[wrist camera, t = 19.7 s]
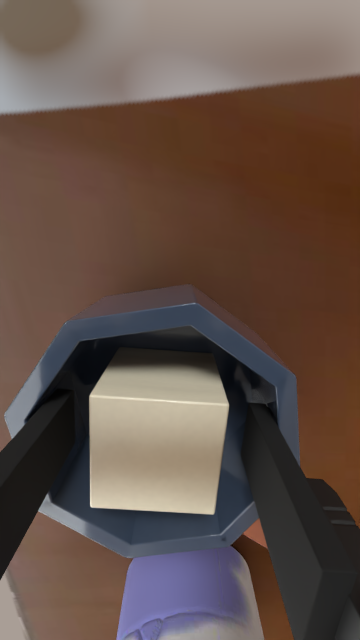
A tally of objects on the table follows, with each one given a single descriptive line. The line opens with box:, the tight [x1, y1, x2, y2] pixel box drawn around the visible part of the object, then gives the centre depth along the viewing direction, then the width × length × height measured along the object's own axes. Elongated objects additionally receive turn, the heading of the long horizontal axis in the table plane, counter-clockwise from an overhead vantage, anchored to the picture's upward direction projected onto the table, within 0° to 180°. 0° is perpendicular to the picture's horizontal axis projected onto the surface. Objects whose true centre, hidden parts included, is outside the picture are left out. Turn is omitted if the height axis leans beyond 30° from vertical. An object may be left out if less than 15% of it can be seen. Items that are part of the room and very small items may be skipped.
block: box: [89, 347, 229, 515], centre depth 13 cm, size 5×5×5 cm
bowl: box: [4, 284, 300, 558], centre depth 14 cm, size 13×11×5 cm
